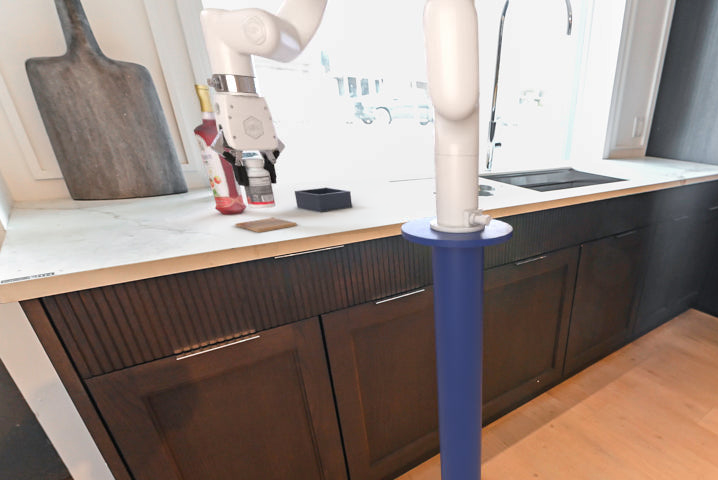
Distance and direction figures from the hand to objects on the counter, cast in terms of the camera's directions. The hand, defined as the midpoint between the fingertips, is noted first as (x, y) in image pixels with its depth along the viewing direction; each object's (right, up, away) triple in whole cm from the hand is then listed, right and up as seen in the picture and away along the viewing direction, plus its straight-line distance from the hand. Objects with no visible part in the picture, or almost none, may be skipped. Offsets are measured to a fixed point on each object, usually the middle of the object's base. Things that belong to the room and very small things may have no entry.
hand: (257, 183), depth 92 cm
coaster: (0, -8, +4) cm, 9 cm away
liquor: (-16, -2, +16) cm, 22 cm away
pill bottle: (0, -5, +2) cm, 5 cm away
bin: (+4, +3, +26) cm, 27 cm away
